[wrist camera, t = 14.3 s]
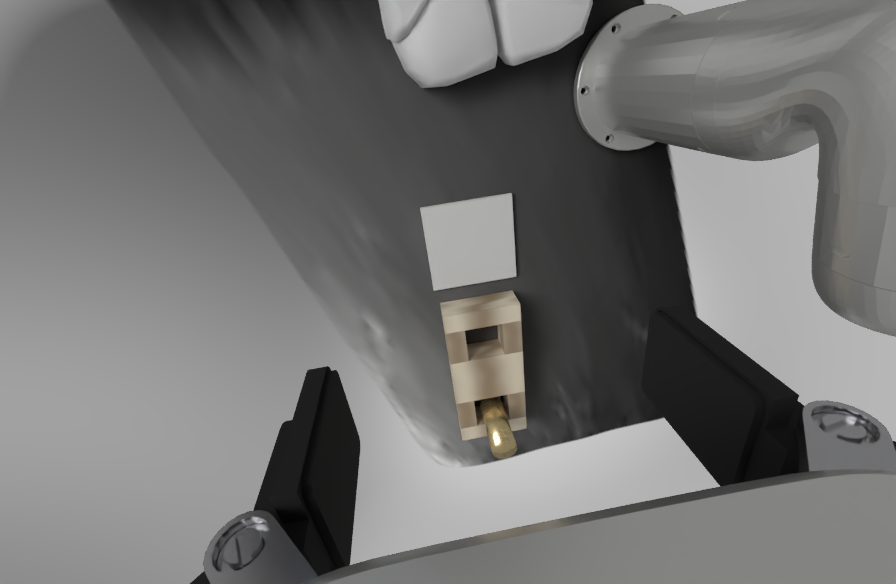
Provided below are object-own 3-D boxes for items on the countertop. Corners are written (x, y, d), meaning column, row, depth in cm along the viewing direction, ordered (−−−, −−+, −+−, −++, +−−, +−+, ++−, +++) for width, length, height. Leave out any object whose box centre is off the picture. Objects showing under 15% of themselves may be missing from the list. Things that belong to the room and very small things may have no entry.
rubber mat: (511, 192, 44) (511, 193, 43) (515, 275, 48) (516, 276, 48) (420, 207, 43) (420, 208, 43) (433, 289, 48) (433, 290, 47)
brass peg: (496, 382, 56) (516, 438, 47) (498, 398, 57) (517, 455, 48) (475, 386, 55) (491, 443, 47) (477, 402, 57) (493, 460, 48)
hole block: (512, 290, 49) (520, 304, 46) (519, 410, 59) (526, 428, 55) (440, 302, 49) (443, 317, 46) (459, 421, 58) (462, 440, 55)
